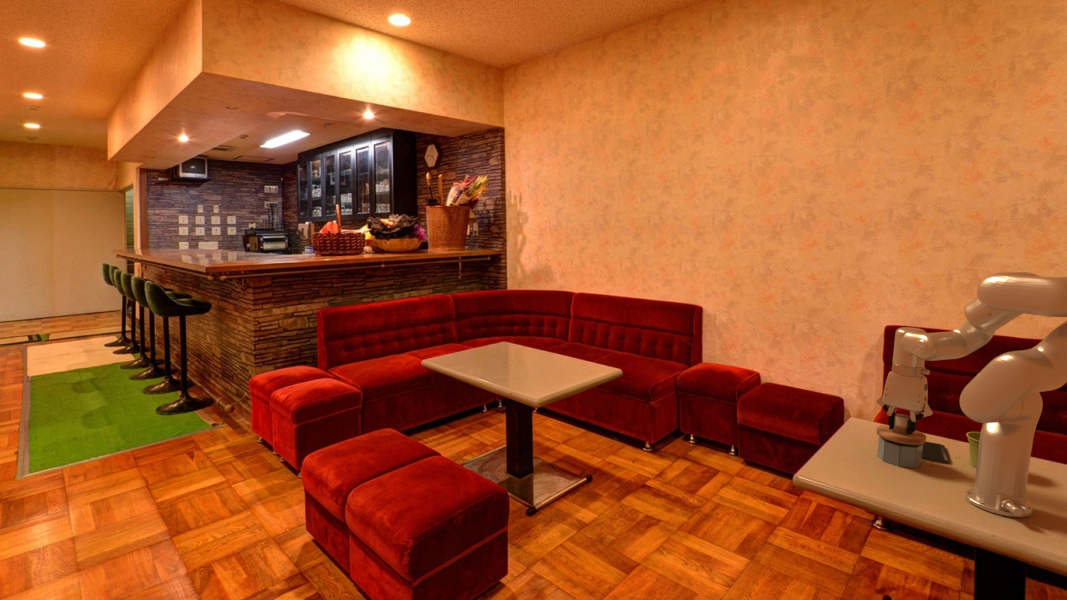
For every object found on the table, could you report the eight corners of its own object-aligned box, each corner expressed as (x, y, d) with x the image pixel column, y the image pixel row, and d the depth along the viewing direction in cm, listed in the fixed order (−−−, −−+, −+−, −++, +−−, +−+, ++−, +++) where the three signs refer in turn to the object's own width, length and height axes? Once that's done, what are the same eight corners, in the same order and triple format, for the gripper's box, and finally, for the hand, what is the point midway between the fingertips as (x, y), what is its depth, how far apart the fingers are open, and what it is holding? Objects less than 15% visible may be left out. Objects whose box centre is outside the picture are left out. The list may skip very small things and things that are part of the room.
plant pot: (1013, 470, 151) (1017, 441, 150) (992, 476, 148) (996, 446, 146) (975, 457, 160) (979, 430, 158) (955, 462, 156) (958, 434, 155)
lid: (934, 446, 150) (936, 425, 149) (886, 442, 153) (889, 422, 152) (913, 430, 162) (915, 410, 161) (869, 427, 164) (871, 408, 163)
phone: (944, 444, 167) (949, 462, 155) (943, 448, 168) (949, 465, 155) (913, 439, 172) (916, 455, 159) (913, 442, 172) (916, 459, 159)
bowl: (926, 468, 152) (928, 448, 151) (887, 465, 154) (889, 445, 153) (909, 454, 162) (911, 435, 161) (873, 451, 164) (874, 432, 163)
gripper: (946, 374, 150) (939, 436, 153) (879, 362, 163) (874, 419, 166) (938, 379, 146) (931, 443, 148) (870, 366, 159) (864, 425, 161)
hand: (901, 430), depth 157 cm, fingers closed on lid, 4 cm apart
